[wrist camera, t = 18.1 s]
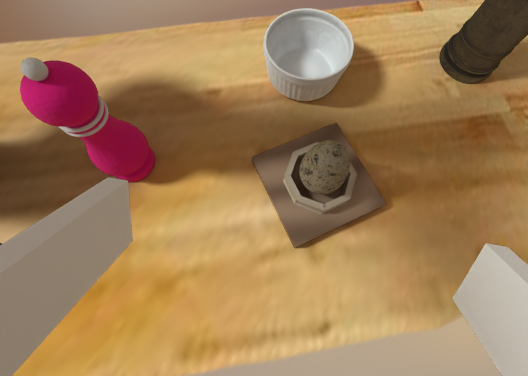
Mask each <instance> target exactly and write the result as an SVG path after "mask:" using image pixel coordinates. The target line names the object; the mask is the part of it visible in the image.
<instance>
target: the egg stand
mask: <svg viewBox="0 0 528 376" xmlns="http://www.w3.org/2000/svg"><path fill="white" fill-rule="evenodd" d="M327 140H335V141H338V142H340V143H342V144H343V145H344V146H345V147H346V149H347V151H348V153H349V157H350V168H349V173H348V176H347V178H346V180H345V182H344V183H343V184H342V185H341V187H339V188H338V189H337V190H336V191H334V192H332V193H329V194H316V193H313V192H311V191H310V190H308V189H307V188H306V187H305V186H304V184H303V183H302V181H301V178H300V165H301V162H302V159H303V158H304V156H305V154H306V153H307V152H308V151H309V150H310V149H311V148H312V147H314V146H315V145H317V144H318V143H320V142H323V141H327ZM252 162H253V164H254V166H255V168H256V170H257V172H258V174H259V176H260V178H261V180H262V182H263V185H264V187H265V189H266V191H267V193H268V195H269V197H270V199H271V201H272V203H273V205H274V207H275V209H276V211H277V213H278V215H279V218H280V220H281V222H282V224H283V226H284V228H285V230H286V232H287V234H288V236H289V238H290V240H291V242H292V244H293V246H294V248H296V247H298V246H300V245H302V244H304V243H307V242H309V241H311V240H313V239H315V238H317V237H319V236H321V235H323V234H325V233H328V232H330V231H332V230H334V229H336V228H338V227H340V226H342V225H344V224H346V223H349V222H351V221H353V220H355V219H357V218H359V217H361V216H363V215H365V214H368V213H370V212H372V211H374V210H376V209H378V208H380V207H382V206H384V205H386V202H385V200H384V199H383V197H382V196H381V194H380V192H379V191H378V189H377V187H376V186H375V184H374V183H373V181H372V179H371V178H370V176H369V174H368V173H367V171H366V170H365V168H364V166H363V165H362V163H361V161H360V160H359V158H358V157H357V155H356V153H355V152H354V150H353V148H352V147H351V145H350V144H349V142H348V140H347V139H346V137H345V135H344V134H343V132H342V131H341V129H340V127H339V126H338V124H337V123H334V124H332V125H329V126H327V127H324V128H322V129H320V130H317V131H315V132H312V133H310V134H307V135H305V136H303V137H300V138H298V139H295V140H293V141H290V142H288V143H285V144H283V145H281V146H278V147H276V148H273V149H271V150H268V151H266V152H264V153H261V154H259V155H256V156H254V157H252Z"/></svg>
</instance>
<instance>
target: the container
mask: <svg viewBox="0 0 528 376" xmlns="http://www.w3.org/2000/svg"><path fill="white" fill-rule="evenodd" d="M527 35H528V0H485V1H484V2H483V3H482V5H481V6H480V7H479V8H478V10H477V11H476V12H475V13H474V15H473V16H472V17H471V18H470V19H469V20H468V21H466V22H465V24H464V25H463V27H462V28H461V30H460V31H459V32H458V33H456V34H455V35H453V36H452V37H451V38H450V40H449V41H448V42H447V43H446V44H445V45H444V46H443V48H442V50H441V52H440V63H441V65H442V67H443V69H444V70H445V71H446V72H447V74H449V75H450V76H451V77H453V78H454V79H456V80H458V81H461V82H464V83H477V82H480V81H482V80H484V79H486V78H487V77H488V76H489V75H490V74H491V73H492V72H493V70H495V69H496V68H497V67H498V66H499V64H500V61H501V60H502V59H503V58H504V57H505V56H507V55H508V54H510V53H511V51H512V50H513V49H514V47H515V46H516V45H517V44H518V43H519V42H520V41H522V40H523V39H524V38H525V37H526V36H527Z"/></svg>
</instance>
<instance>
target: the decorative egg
mask: <svg viewBox="0 0 528 376" xmlns="http://www.w3.org/2000/svg"><path fill="white" fill-rule="evenodd" d="M349 168H350V157H349V153H348V151H347V149H346V147H345V146H344V145H343V144H342V143H340V142H338V141H335V140H327V141H323V142H320V143H318V144H317V145H315V146H314V147H312V148H311V149H310V150H309V151H308V152H307V153H306V154H305V156H304V158H303V159H302V162H301V165H300V178H301V181H302V183H303V184H304V186H305V187H306V188H307V189H308V190H310V191H311V192H313V193H316V194H329V193H332V192H334V191H336V190H337V189H338V188H339V187H341V185H342V184H343V183H344V182H345V180H346V178H347V176H348V173H349Z"/></svg>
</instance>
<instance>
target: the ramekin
mask: <svg viewBox="0 0 528 376" xmlns="http://www.w3.org/2000/svg"><path fill="white" fill-rule="evenodd" d="M263 50H264V56H265V59H266V66H267V72H268V76H269V79H270V81H271V83H272V85H273V86H274V88H275V89H276V90H277V91H278V92H280V93H281V94H282V95H284V96H285V97H288V98H290V99H293V100H297V101H312V100H316V99H319V98H321V97H323V96H325V95H326V94H328V93H329V92H330V91H331V90H332V89H333V88H334V86H335V85H336V84H337V82H338V80H339V79H340V77H341V75H342V74H343V73H344V72H345V70H346V69H347V68H348V66H349V64H350V62H351V59H352V56H353V52H354V41H353V37H352V34H351V32H350V30H349V29H348V27H347V26H346V25H345V24H344V23H343V22H342V21H341V20H340V19H338V18H337V17H335V16H334V15H332V14H330V13H327V12H324V11H321V10H317V9H296V10H291V11H288V12H286V13H283V14H282V15H280V16H278V17H277V18H276V19H274V20H273V21H272V22H271V24H270V25H269V27H268V28H267V30H266V33H265V37H264V44H263Z"/></svg>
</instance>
